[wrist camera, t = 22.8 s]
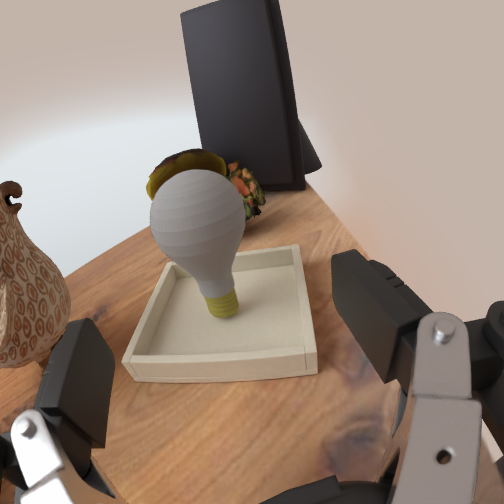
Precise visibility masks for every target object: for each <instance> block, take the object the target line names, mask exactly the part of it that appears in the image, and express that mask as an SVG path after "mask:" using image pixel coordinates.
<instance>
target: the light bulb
mask: <svg viewBox="0 0 504 504" xmlns="http://www.w3.org/2000/svg"><path fill="white" fill-rule="evenodd" d="M245 219H246V213H245V208H244V204H243V200H242V198H241V196H240V194H239V192H238V191H237V189H236V188H235V187H234V185H233V184H232V183H231V182H230V181H229V180H228V179H226V178H225V177H223V176H222V175H220V174H218V173H216V172H212V171H209V170H197V169H194V170H187V171H184V172H181V173H179V174H177V175H175V176H173V177H172V178H170V179H169V180H168V181H166V182H165V183H164V184H163V185H162V186H161V187H160V188H159V190H158V191H157V193H156V194H155V197H154V199H153V202H152V205H151V210H150V227H151V230H152V233H153V237H154V239H155V241H156V243H157V244H158V246H159V247H160V249H161V251H162V252H163V253H164V254H166V255H167V256H168V257H169V258H170V259H171V260H172V261H174V262H175V263H176V264H178V265H179V266H180V267H182V268H183V269H184V270H186V271H187V272H188V273H189V274H190V275H192V276H193V277H194V278H195V280H196V281H197V283H198V286H199V289H200V292H201V294H202V295H203V296H204V298H205V301H206V303H207V306H208V309H209V312H210V313H211V314H212V315H213V316H215V317H217V318H226V317H229V316H231V315H233V314H235V313H236V312H237V310H238V308H239V302H238V299H237V295H236V293H235V289H234V285H235V283H234V279H233V276H232V264H233V261H234V258H235V255H236V253H237V250H238V248H239V245H240V242H241V240H242V236H243V233H244V230H245Z"/></svg>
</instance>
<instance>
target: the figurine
mask: <svg viewBox="0 0 504 504" xmlns="http://www.w3.org/2000/svg"><path fill="white" fill-rule="evenodd" d="M21 195H22V187H21V186H20V185H19V184H18V183H16V182H13V181H6V182H3V183H1V184H0V368H19V367H23V366H26V365H27V364H29V363H31V362H32V361H36V362H38V363H39V365H40V366H41V367H42V368H43V369H44V371H43V372H42V375H41V376H42V377H43V375H44V374H45V369H46V367H47V364H49V363H48V361H49V358H50V356H51V353H52V350H53V349H54V348H55V346H56V345H57V343H58V342H59V341H60V339H62V337H63V335H62V333H63V331H64V329H65V328H66V325H67V322H68V319H69V316H70V308H71V300H70V295H69V291H68V289H67V286H66V283H65V281H64V278H63V276H62V274H61V272H60V271H59V269H58V268H57V266H56V265H55V264H54V263H53V262H52V260H51V259H50V258H49V257H48V256H47V255H46V254H45V253H43V252H42V251H41V250H40V249H39V248H38V247H37V246H35V244H34V243H33V242H32V241H31V240H30V239H29V237H28V236H27V235H26V233H25V232H24V230H23V228H22V226H21V224H20V222H19V220H18V218H17V213H18V211H19V210H20V209H21V207H22V204H21V203H15V204H12V203H11V201H10V199H9V198H10V196H12V197H13V198H19V197H21Z"/></svg>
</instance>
